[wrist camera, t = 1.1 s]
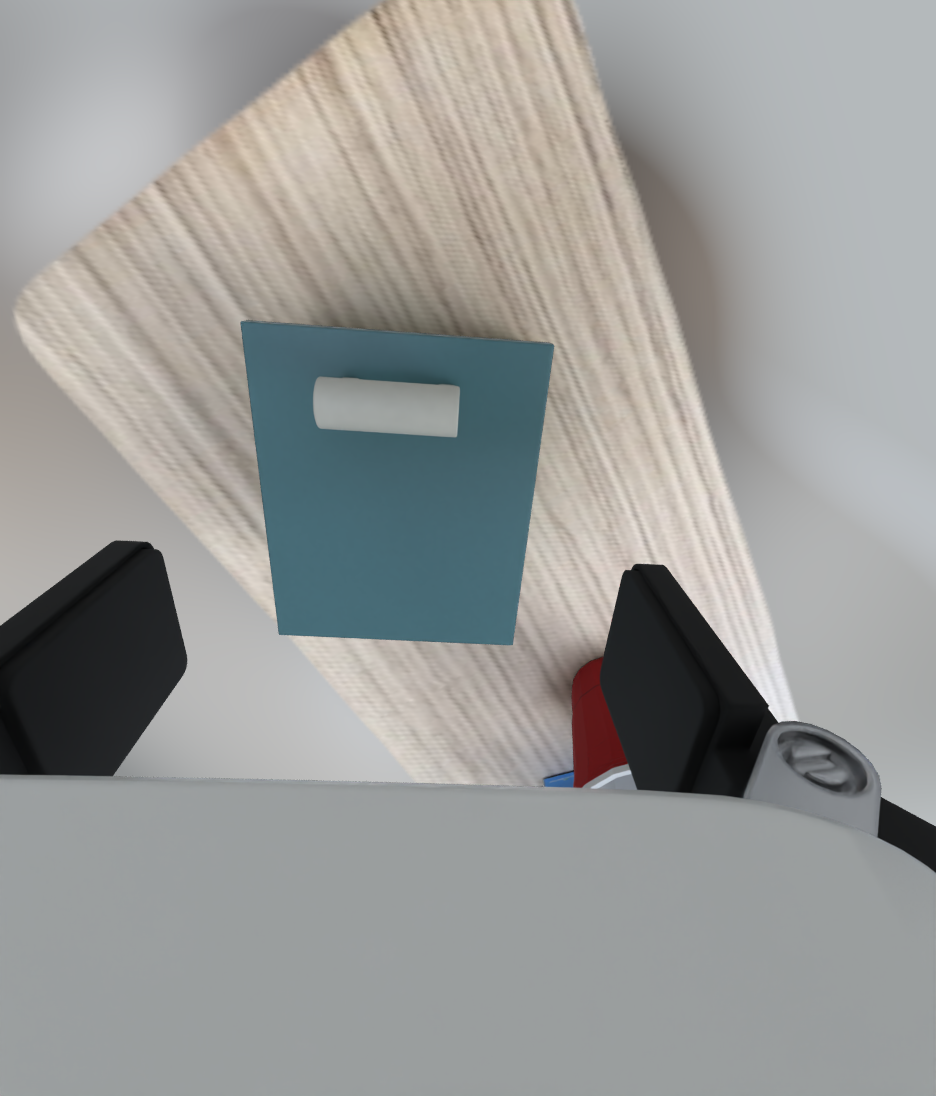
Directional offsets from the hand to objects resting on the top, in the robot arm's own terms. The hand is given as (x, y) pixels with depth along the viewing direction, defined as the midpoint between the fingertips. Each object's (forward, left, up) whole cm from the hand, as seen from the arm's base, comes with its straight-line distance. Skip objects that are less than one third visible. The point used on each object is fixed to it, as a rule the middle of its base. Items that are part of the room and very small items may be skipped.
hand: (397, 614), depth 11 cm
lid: (+3, -1, -14) cm, 15 cm away
